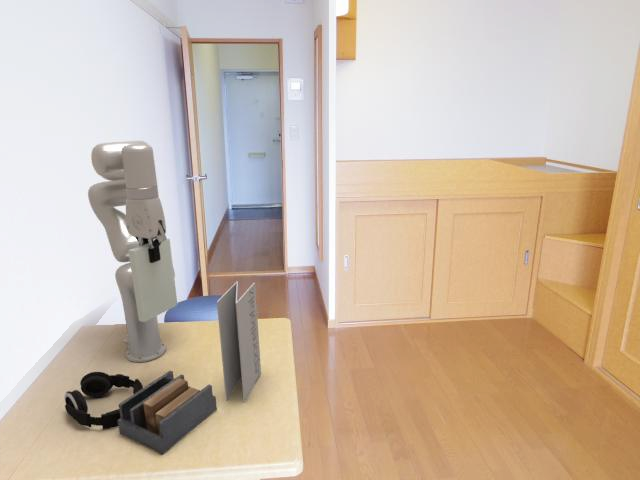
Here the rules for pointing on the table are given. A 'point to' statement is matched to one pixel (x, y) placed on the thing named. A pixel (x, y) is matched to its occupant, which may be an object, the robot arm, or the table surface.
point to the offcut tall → (162, 402)
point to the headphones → (97, 387)
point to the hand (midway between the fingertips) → (151, 260)
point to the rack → (170, 426)
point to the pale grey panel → (153, 281)
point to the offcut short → (174, 405)
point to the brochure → (239, 339)
